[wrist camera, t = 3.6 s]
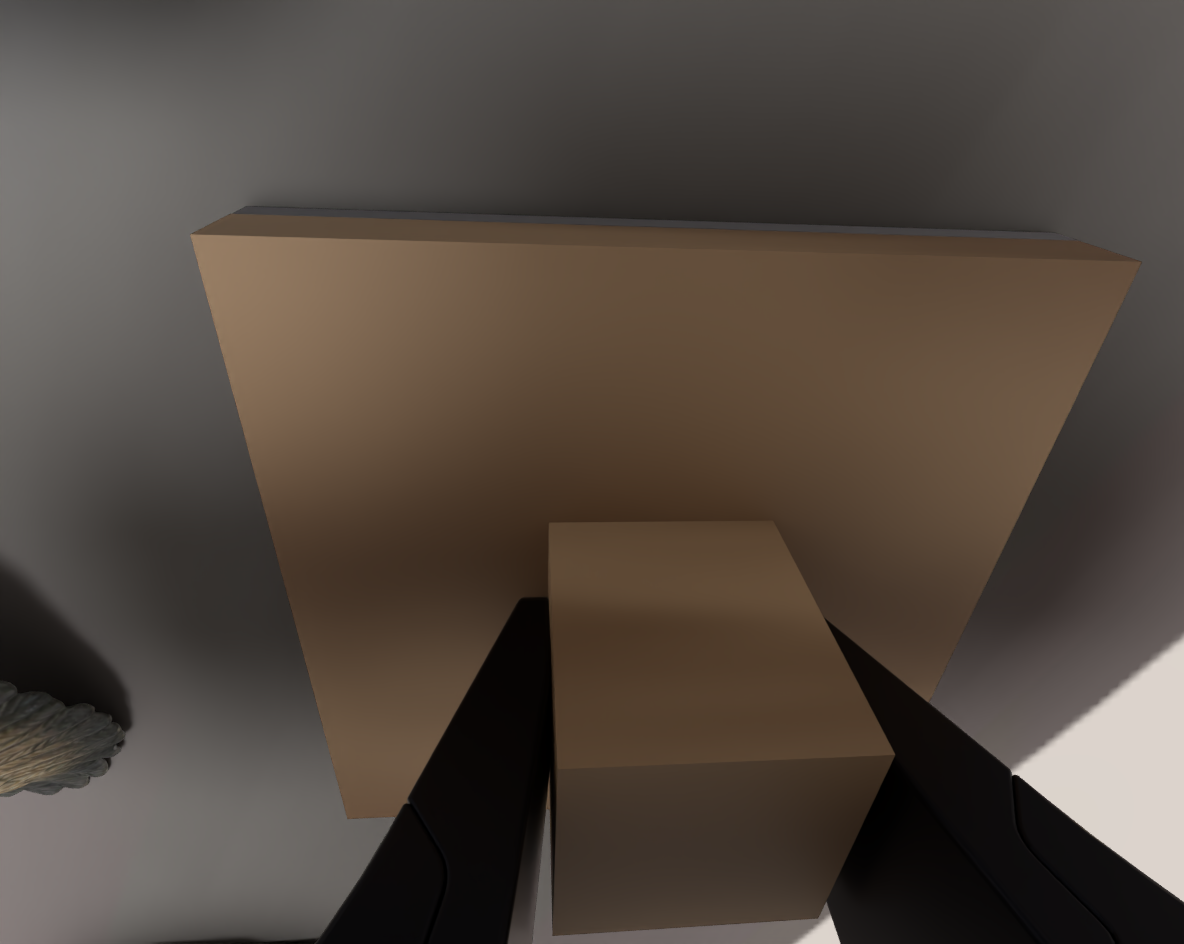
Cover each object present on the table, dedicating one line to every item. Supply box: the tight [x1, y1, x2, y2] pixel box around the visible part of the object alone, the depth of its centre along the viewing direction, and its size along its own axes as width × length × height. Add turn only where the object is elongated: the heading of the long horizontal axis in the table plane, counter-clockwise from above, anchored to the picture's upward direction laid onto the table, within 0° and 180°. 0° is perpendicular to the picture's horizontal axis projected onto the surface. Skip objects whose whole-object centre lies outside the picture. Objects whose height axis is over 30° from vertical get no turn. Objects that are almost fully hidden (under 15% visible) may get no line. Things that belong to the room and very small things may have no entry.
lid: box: [190, 214, 1142, 936], centre depth 8 cm, size 10×10×4 cm
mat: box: [233, 206, 1077, 241], centre depth 10 cm, size 10×10×1 cm
